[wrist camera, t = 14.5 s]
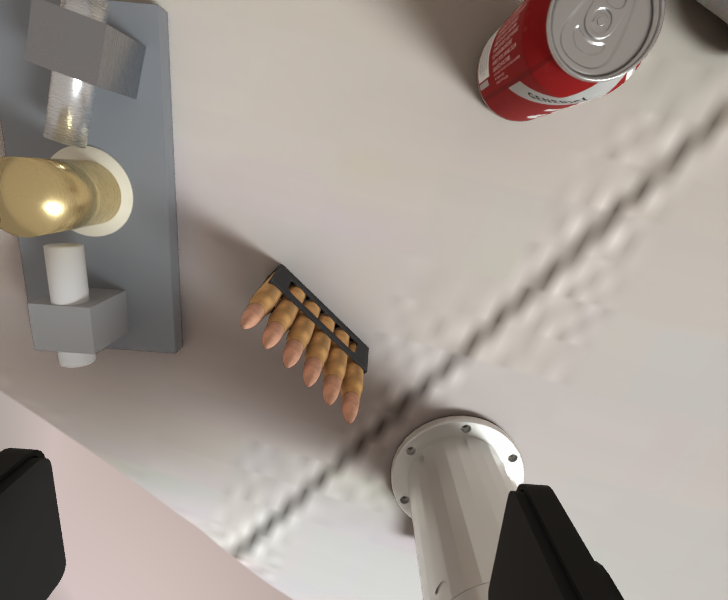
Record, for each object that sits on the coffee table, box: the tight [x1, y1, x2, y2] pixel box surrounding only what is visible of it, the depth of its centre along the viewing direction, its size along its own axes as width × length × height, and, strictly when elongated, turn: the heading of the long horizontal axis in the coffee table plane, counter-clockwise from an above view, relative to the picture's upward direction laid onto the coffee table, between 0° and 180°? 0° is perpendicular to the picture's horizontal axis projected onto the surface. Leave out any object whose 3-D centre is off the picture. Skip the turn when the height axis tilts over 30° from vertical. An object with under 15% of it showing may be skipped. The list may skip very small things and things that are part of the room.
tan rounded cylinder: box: [0, 157, 121, 237], centre depth 30 cm, size 5×5×7 cm
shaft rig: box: [0, 0, 182, 368], centre depth 31 cm, size 26×12×6 cm, turn 176°
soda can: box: [477, 0, 665, 121], centre depth 26 cm, size 7×7×12 cm
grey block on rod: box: [25, 0, 146, 148], centre depth 29 cm, size 9×4×5 cm, turn 161°
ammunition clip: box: [241, 264, 369, 424], centre depth 32 cm, size 11×2×12 cm, turn 44°
